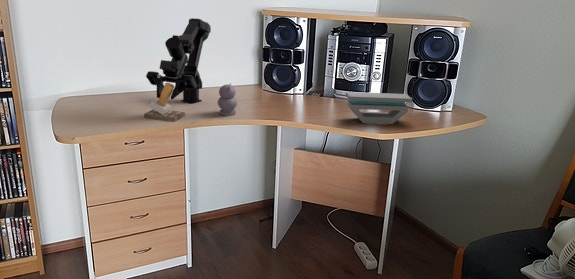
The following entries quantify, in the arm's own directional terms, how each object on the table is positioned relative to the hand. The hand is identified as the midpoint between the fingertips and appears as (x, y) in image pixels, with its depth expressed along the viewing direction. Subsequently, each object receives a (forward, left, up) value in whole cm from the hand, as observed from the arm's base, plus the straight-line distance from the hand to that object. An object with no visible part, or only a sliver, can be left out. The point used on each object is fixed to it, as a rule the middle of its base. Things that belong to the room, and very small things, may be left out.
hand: (164, 98), depth 164 cm
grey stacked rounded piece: (-21, +13, -8) cm, 26 cm away
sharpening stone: (-53, +64, -8) cm, 84 cm away
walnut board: (-1, -2, -8) cm, 8 cm away
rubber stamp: (-1, -4, -5) cm, 6 cm away
